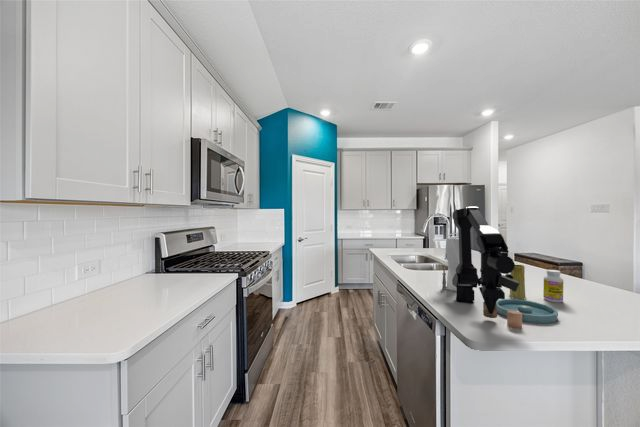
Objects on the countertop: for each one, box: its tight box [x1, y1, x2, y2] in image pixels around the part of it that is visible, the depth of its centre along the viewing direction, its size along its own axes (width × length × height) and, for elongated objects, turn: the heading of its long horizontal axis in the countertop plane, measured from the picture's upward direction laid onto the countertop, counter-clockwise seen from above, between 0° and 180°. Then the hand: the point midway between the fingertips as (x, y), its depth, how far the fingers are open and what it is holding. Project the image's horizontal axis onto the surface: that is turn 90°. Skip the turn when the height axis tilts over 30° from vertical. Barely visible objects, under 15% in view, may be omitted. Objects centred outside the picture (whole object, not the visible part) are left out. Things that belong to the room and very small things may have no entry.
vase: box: [509, 263, 527, 300], centre depth 131 cm, size 6×6×14 cm
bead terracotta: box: [506, 311, 523, 329], centre depth 99 cm, size 4×4×4 cm
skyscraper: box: [441, 232, 460, 293], centre depth 144 cm, size 8×8×28 cm
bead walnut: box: [482, 301, 498, 319], centre depth 103 cm, size 4×4×4 cm
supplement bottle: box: [543, 269, 564, 303], centre depth 125 cm, size 7×7×13 cm
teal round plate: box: [496, 298, 559, 324], centre depth 110 cm, size 19×19×2 cm
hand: (490, 311), depth 103 cm, fingers closed on bead walnut, 4 cm apart
